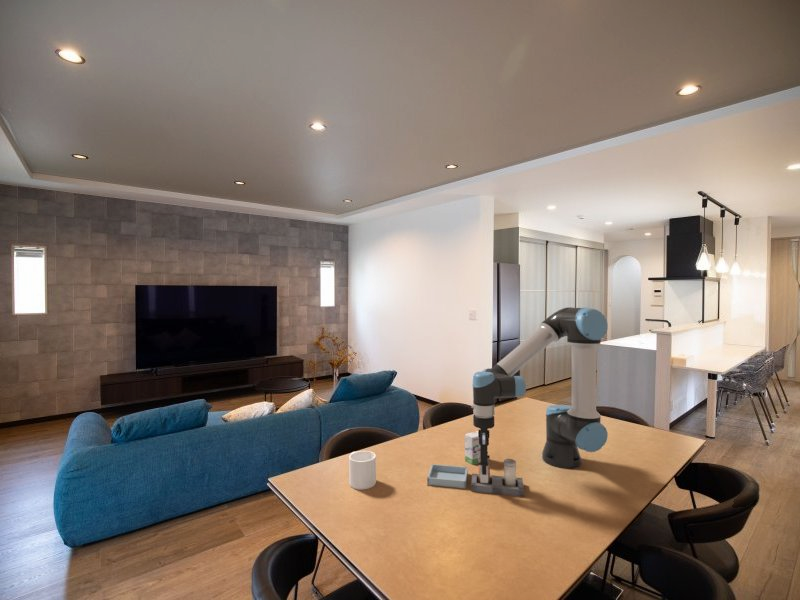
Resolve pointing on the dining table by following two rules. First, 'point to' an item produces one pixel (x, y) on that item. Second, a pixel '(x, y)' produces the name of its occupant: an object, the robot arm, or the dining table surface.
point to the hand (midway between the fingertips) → (484, 479)
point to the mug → (362, 470)
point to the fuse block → (497, 486)
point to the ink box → (472, 447)
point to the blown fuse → (488, 470)
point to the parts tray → (447, 476)
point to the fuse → (510, 472)
